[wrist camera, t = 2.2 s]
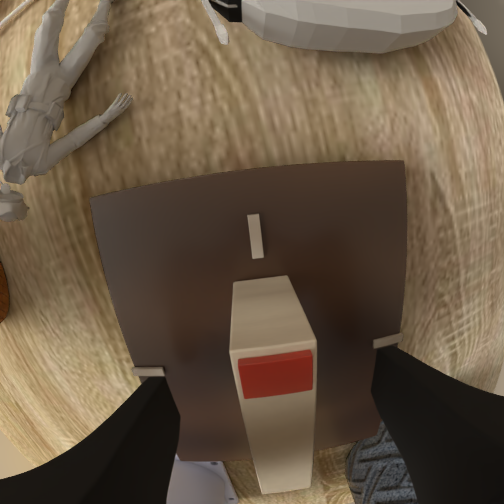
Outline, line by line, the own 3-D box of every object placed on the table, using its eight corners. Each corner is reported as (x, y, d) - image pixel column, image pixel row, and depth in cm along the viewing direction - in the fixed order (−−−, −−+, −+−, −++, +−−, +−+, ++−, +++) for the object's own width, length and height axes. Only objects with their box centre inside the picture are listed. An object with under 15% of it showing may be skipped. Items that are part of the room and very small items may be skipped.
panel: (362, 402, 15) (379, 437, 12) (185, 425, 15) (178, 463, 12) (371, 162, 11) (409, 160, 8) (119, 192, 11) (83, 198, 8)
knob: (295, 417, 11) (312, 492, 7) (256, 422, 11) (262, 499, 7) (288, 274, 9) (320, 346, 5) (233, 281, 9) (228, 358, 5)
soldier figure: (178, 5, 10) (108, 232, 9) (131, 46, 13) (76, 234, 12) (59, -48, 4) (-86, 198, 3) (32, 10, 7) (-58, 211, 6)
